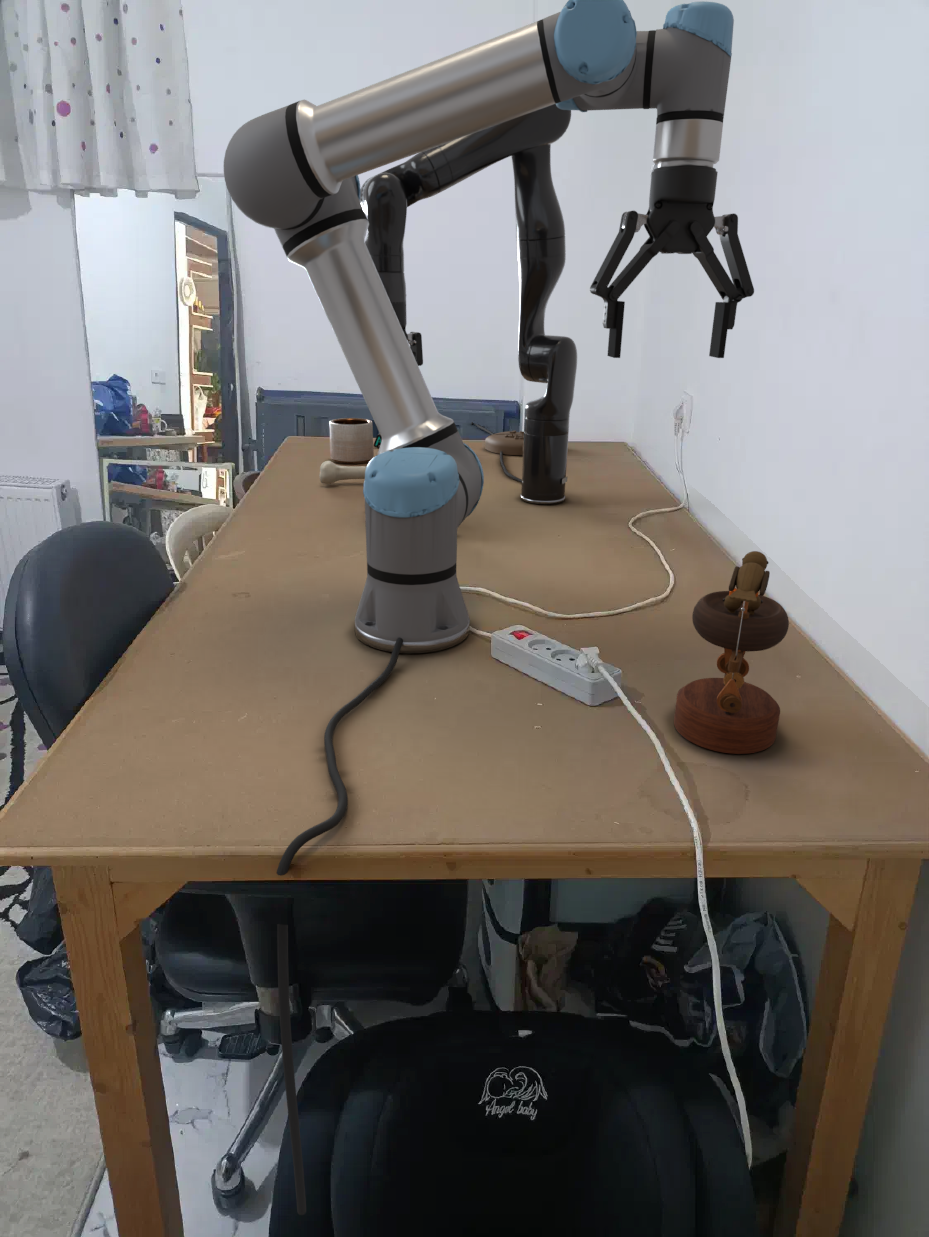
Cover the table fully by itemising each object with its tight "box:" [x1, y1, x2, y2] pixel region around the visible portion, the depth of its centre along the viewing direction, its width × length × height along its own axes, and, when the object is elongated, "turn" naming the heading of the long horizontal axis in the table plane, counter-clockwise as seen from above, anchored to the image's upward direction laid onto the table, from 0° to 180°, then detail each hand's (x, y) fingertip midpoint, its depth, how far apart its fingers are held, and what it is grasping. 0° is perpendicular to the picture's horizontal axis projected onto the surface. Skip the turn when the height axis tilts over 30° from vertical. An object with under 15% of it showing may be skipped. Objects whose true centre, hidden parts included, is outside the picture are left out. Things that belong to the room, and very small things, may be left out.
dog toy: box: [318, 460, 367, 485], centre depth 190 cm, size 20×6×5 cm, turn 99°
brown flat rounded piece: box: [484, 430, 524, 456], centre depth 224 cm, size 21×28×4 cm
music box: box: [673, 550, 790, 755], centre depth 87 cm, size 15×11×20 cm
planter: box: [328, 417, 375, 464], centre depth 212 cm, size 11×11×10 cm
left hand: (665, 357), depth 106 cm, fingers open, 13 cm apart
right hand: (387, 391), depth 158 cm, fingers open, 8 cm apart
